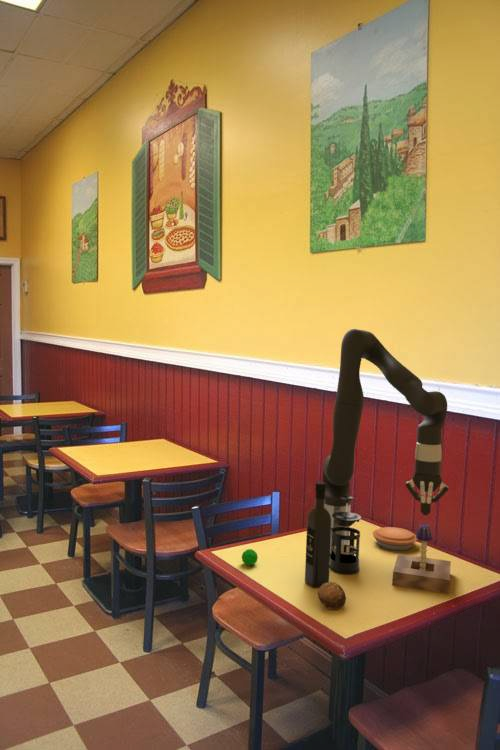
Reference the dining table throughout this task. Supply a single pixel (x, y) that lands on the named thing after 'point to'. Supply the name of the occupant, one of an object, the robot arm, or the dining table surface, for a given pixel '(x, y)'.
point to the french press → (345, 553)
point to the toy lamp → (423, 543)
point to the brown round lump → (331, 595)
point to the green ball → (249, 557)
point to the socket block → (422, 573)
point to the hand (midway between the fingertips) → (425, 514)
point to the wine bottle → (318, 540)
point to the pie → (394, 538)
